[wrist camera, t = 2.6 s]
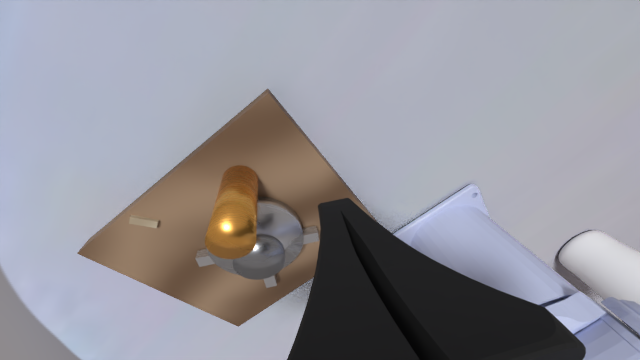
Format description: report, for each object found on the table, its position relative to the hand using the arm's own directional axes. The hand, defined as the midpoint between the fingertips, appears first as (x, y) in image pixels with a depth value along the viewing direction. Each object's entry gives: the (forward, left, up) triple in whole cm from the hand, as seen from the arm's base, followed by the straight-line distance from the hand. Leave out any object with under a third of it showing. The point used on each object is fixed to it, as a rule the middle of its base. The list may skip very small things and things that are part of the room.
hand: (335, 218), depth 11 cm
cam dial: (-2, +6, -5) cm, 8 cm away
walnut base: (-2, +7, -6) cm, 9 cm away
